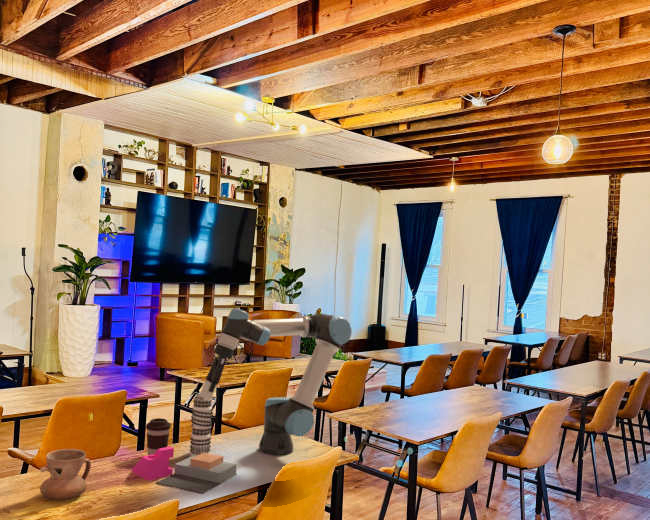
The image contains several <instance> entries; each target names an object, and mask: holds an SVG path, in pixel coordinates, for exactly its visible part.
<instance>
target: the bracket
mask: <svg viewBox="0 0 650 520" xmlns="http://www.w3.org/2000/svg"><path fill="white" fill-rule="evenodd" d="M174 453H175V448H174V447H172V446H167V447H165V448H160V449H158V450H157V451H156V452H155V454H152V455H148V454H147V455H144V456H141V457H140V459H138V461H137V462H136V463H135V465H134V467H133V468H132V469H131V473H132V474H134V473H135V474H134V475H136V474H137V475H136V476H138V477H140V478H142V479H144V480H145V479H146V481H147V482H149V481H152V480H153V479H154V480H156V479H157V478H158V479H161V477H162V478H166V477H168V476H169V475H170V476H171V475H173V473H174V472H173V471H174V470H173V467H170V459H171V458H174ZM165 476H166V477H165ZM154 480H153V481H154Z"/></svg>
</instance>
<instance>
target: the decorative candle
mask: <svg viewBox="0 0 650 520" xmlns="http://www.w3.org/2000/svg"><path fill="white" fill-rule="evenodd" d="M199 395H200V393H198V394H196V395H195V397H193V398H192V399H193V406H192V407H191V412H190V413H191V414H192V415H191V416H190V421H191V429H192V431H191V436H190V442H189V443H190V445H189V448H190V449H189V455H190V457H191V456H198V455H200V454H202V453H209V454H211V448H212V447H211V446H212V445H210V444H212V443H211V440H212V437H211V428H212V426H213V424H212V423H213V419H212V418H213V417H214V416H213V414H214V412H213V411H212V410H213V405H212V403H213V402H212V401H213V397H212V398H211V400H210V401H207V400H204V399H203V398H204V397H201V396H199Z"/></svg>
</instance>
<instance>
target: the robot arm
mask: <svg viewBox="0 0 650 520" xmlns="http://www.w3.org/2000/svg"><path fill="white" fill-rule="evenodd" d="M249 316H250V314H249V313H248V312H247V311H245V310H243V309H241V308H240V309H239V308H236V307H235V308H232V309H231V310H230V312H229V314H228V316H227V318H226V321H225V324H224V326H223V328H222V331H221V334H219V335H218V336H217V337H218V340H217V344H215V347H214V349H213V353H214V354H215V355H218V356H216V357H214V359H213V363H212V365H211V366H210V369H209V371H208V373H207V375H206V376H205V381H204V383H203V386H202V388H201V391H200V393H199V394H200V395H199V396H201V397H204V398H203V399H204V400H207V401H210V400H211V398H213V395H214V393H215V391H216V389H217V385H218V384H219V383H220V380H221V378H222V374H223V371H224V368H225V365H226V363H227V359H228V360H232V358H233V355H234V353H235V350H236V348H237V346H238V344H239V341H240V339H241V340H245V341H247V342H252V343H255V344H256V345H259V346H264V345H266V344H267V343H268V342H269V340H270V337H287V336H290V337H291V336H300V337H301V338H312V339H315V343H316V345H315V347H314V349H313V352H312V354H311V357H310V359H309V361H308V364H307V366H306V369H305V371H304V373H303V376H302V377H301V380H300V382H299V384H298V387H297V389H296V391H295V393H294V395H293V396H290V397H289V396H286V397H284V396H280V397H279V396H278V397H269V398H267V399H266V400H265V401H264V402H265V404H264V416H263V417H264V420H263V421H264V422H263V433H262V437H261V439H260V441H259V444H258V451H259V452H261V453H263V454H266V455H270V456H272V455H273V456H283V455H288V454H291V453H293V452H294V443H293V439H292V436H295V437H303V436H305V435H307V434H308V433H309V432H310V431H311V430H312V429H313V426H314V423H315V418H314V414H313V412H314V410H315V407H314V402H315V399H316V397H317V395H318V393H319V390H320V388H321V385H322V384H323V381H324V379H325V376H326V373H327V371H328V368H329V367H330V364H331V362H332V360H333V358H334V356H335V355H334V354H335V353H337V352H339V351H340V349H341V347H342V345H345V344H346V343H348V342H349V341H350V339H351V337H352V333H353V332H352V327H351V323H350V322H349V321H348V319H347V318H345V317H342V316H339V315H331V314H324V313H320V314H317V313H316V314H311V315H309V314H308V315H301V316H300V317H296V318H271V319H270V318H269V319H266V318H265V319H249V318H250V317H249Z"/></svg>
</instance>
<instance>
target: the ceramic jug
mask: <svg viewBox="0 0 650 520" xmlns="http://www.w3.org/2000/svg"><path fill="white" fill-rule="evenodd" d="M86 456H87V455H86V452H85V451H84V450H83V449H82V450H81V449H76V448H65V449H64V448H63V449H56V450H53V451H50V452H48V453H47V454H46V457H45V458H46V465H45V466H42V467H40V469H39V471H40V473H45V472H49V474H50V476H49V477H48V478H46V479H45V480H44V481H43V482H42V483H41V484H40V488H39V490H40V494H41V496H43V497H45V498H46V499H49V500H51V501H52V500H53V501H66V500H71V499H75V498H77V497H79V496H80V495H82V494H83V493H85V491H86V490H87V488H88V487H87V486H88V484H87V482H86V479H87V477H88V475H89V473H90V470H91V466H92V462H91V459H89V458H88V457H86ZM84 464H85V469H84V471H83V474H82V476H80V475H79V473H80V472H81V469H82V467H83V465H84Z"/></svg>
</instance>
